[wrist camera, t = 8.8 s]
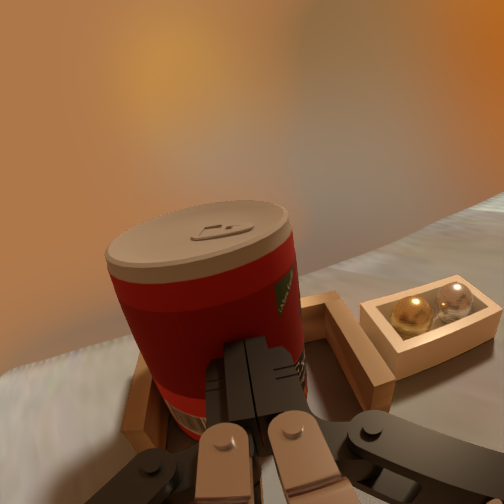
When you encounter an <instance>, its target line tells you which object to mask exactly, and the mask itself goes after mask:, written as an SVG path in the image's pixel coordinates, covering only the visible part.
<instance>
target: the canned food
mask: <svg viewBox="0 0 504 504" xmlns="http://www.w3.org/2000/svg"><path fill="white" fill-rule="evenodd" d="M105 258H106V261H107V267H108V268H107V269H108V271H109V274H110V277H111V280H112V283H113V285H114V289H115V292H116V295H117V297H118V300H119V303H120V305H121V308H122V310H123V313H124V315H125V317H126V320H127V322H128V324H129V327H130V329H131V332H132V334H133V336H134V339H135V341H136V343H137V345H138V347H139V350H140V352H141V354H142V356H143V358H144V360H145V363H146V365H147V367H148V369H149V371H150V373H151V375H152V377H153V379H154V381H155V383H156V385H157V387H158V389H159V391H160V393H161V395H162V397H163V399H164V401H165V402H166V404H167V406H168V408H169V410H170V412H171V414H172V415H173V417H174V419H175V421H176V422H177V424H178V425H179V427H180V428H181V429H182V430H183V431H184V432H185V433H186V434H187V435H189V436H190V437H192V438H193V439H194V440H196V441H198V442H199V441H200V438H201V436H202V434H203V433H204V432H205V430H206V368H207V366H208V364H209V363H210V361H211V359H216V358H222V357H224V350H223V343H226V342H232V341H237V340H244V344H245V339H247V338H253V337H258V336H263V335H265V339H266V343H267V347H268V349H270V348H275V347H279V346H283V347H284V348H285V349H286V350H287V351H288V352H289V353H290V354H291V356H292V359H293V362H294V365H295V368H296V371H297V374H298V377H299V380H300V383H301V386H302V389H303V392H304V395H305V398H306V401H307V393H308V387H307V373H306V359H305V347H304V335H303V323H302V312H301V301H300V291H299V281H298V272H297V262H296V253H295V248H294V241H293V233H292V227H291V224H290V222H289V215H288V212H287V210H286V209H284V208H283V207H281V206H279V205H276V204H273V203H269V202H263V201H252V200H250V201H249V200H248V201H247V200H243V201H241V200H240V201H225V202H217V203H210V204H205V205H199V206H194V207H189V208H185V209H181V210H178V211H174V212H170V213H167V214H164V215H161V216H158V217H156V218H153V219H150V220H148V221H145V222H143V223H141V224H139V225H136V226H134V227H132V228H131V229H129V230H127V231H125V232H124V233H123V234H121V235H119V236H118V237H117V238H116V239H115V240H114V241H113V242H111V243H110V244H109V246H108V247H107V249H106V251H105ZM245 349H246V344H245ZM246 353H247V351H246ZM247 358H248V357H247ZM262 437H263V436H262ZM263 443H264V439H263ZM264 446H265V443H264Z"/></svg>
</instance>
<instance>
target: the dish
mask: <svg viewBox="0 0 504 504" xmlns="http://www.w3.org/2000/svg"><path fill="white" fill-rule="evenodd" d="M452 282H459V283H462V284H464V285H465V286H467V287H468V288H469V290H470V291H471V293H472V295H473V300H474V305H473V310H472V312H471V314H470V315H469V316H467V317H465V318H462V319H460V320H457V321H455V322H453V323H450V324H446V323H444V322H442V321H441V320H440V319H439V317H438V316H437V314H436V311H435V298H436V296H437V293H438V292H439V290H440V289H441V288H442V287H443V286H445V285H446V284H448V283H452ZM407 296H418V297H421V298H423V299H424V300H426V301H427V302H428V303H429V305H430V306H431V308H432V311H433V324H432V327H431V329H430V331H429V332H427V333H424V334H421V335H419V336H416V337H413V338H410V339H407V340H405V341H403V340H402V338H401V337H400V336H399V335H398V333H397V332H396V331H395V330H394V329H393V327H392V326H391V325H390V313H391V311H392V308H393V307H394V305H395V304H396V303H397V302H398V301H399V300H400V299H402V298H404V297H407ZM502 310H503V309H502V308H501V307H499V306H498V305H497V304H496V303H494V302H493V301H492V300H491V299H489V298H488V297H487V296H485V295H484V294H483V293H481V292H480V291H479V290H478V289H476V288H475V287H474V286H472V285H471V284H470V283H468V282H467V281H466V280H464V279H463V278H461V277H460V276H459V275H455V276H452V277H449V278H446V279H443V280H439V281H436V282H433V283H430V284H427V285H423V286H420V287H417V288H413V289H410V290H406V291H403V292H400V293H396V294H392V295H389V296H385V297H382V298H378V299H374V300H371V301H367V302H363V303H360V323H359V325H360V326H361V327H362V329H363V330H364V332H365V333H366V335H367V336H368V338H369V339H370V340H371V342H372V343H373V345H374V346H375V348H376V349H377V351H378V352H379V354H380V355H381V357H382V358H383V360H384V361H385V363H386V364H387V366H388V367H389V369H390V370H391V372H392V373H393V375H394V376H395V378H396V381H397V380H400V379H403V378H405V377H408V376H411V375H413V374H416V373H418V372H421V371H423V370H426V369H428V368H430V367H433V366H435V365H437V364H440V363H442V362H444V361H447V360H449V359H451V358H453V357H455V356H457V355H460V354H462V353H464V352H466V351H468V350H470V349H472V348H474V347H476V346H478V345H480V344H482V343H484V342H486V341H488V340H490V339H492V338H493V337H495V334H496V331H497V327H498V324H499V321H500V317H501V314H502Z"/></svg>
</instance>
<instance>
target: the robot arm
mask: <svg viewBox="0 0 504 504" xmlns="http://www.w3.org/2000/svg"><path fill="white" fill-rule="evenodd" d="M245 344H246V349H245ZM245 344H244V340H237V341H232V342H226V343H223V350H224V357H222V358H216V359H211V361H210V363H209V364H208V366H207V368H206V430H205V432H204V433H203V434H202V436H201V438H200V441H199V442H197V443H196V444H195V445H193V446H192V447H190V448H187V449H185V450H182V451H179V452H176V453H174V454H171V453H169V452H168V451H166V450H164V449H160V448H150V449H146V450H144V451H142V452H140V453H139V454H138V455H136V456H135V457H134V458H133V459H132V460H131V461H130V462H129V463H128V464H127V465H126V466H125V467H124V468H123V469H122V470H121V471H120V472H119V473H117V474H116V475H115V476H114V477H113V478H112V479H111V480H110V481H109V482H108V483H107V484H106V485H105V486H103V487H102V488H101V489H100V490H99V491H98V492H97V493H96V494H95V495H93V496H92V497H91V498H90V499H89V500H88V501H87V502H86V503H84V504H264V502H263V488H262V477H261V473H262V472H261V465H260V459H259V457H264V456H266V454H265V448H264V443H265V447H266V451H267V454H268V456H269V455H273V457H274V461H275V465H276V469H277V473H278V477H279V480H280V483H281V486H282V489H283V493H284V496H285V499H286V502H287V504H361V503H360V501H359V499H358V497H357V495H356V493H355V490H354V488H353V487H355V488H357V489H359V490H361V491H363V492H366V493H368V494H370V495H372V496H374V497H376V498H378V499H380V500H383V501H385V502H387V503H389V504H504V453H501V452H497V451H494V450H491V449H487V448H484V447H481V446H477V445H474V444H471V443H468V442H465V441H462V440H459V439H456V438H453V437H450V436H447V435H444V434H441V433H439V432H436V431H433V430H430V429H428V428H425V427H422V426H420V425H417V424H414V423H412V422H409V421H406V420H404V419H401V418H399V417H396V416H394V415H391V414H389V413H387V412H384V411H381V410H367V411H364V412H361V413H359V414H357V415H356V416H355V417H354V418H353V419H352V420H351V422H330V421H325V420H322V419H320V418H318V417H317V416H315V415H314V414H313V413H312V412H311V410H310V409H309V407H308V404H307V401H306V398H305V395H304V392H303V389H302V386H301V383H300V380H299V377H298V374H297V371H296V368H295V365H294V362H293V359H292V356H291V354H290V353H289V352H288V351H287V350H286V349H285V348H284V347H283V346H279V347H275V348H270V349H268V347H267V343H266V339H265V335H263V336H258V337H253V338H247V339H245ZM246 351H247V353H246ZM247 357H248V358H247ZM262 436H263V437H262ZM263 439H264V443H263Z"/></svg>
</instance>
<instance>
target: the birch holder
mask: <svg viewBox="0 0 504 504" xmlns="http://www.w3.org/2000/svg"><path fill="white" fill-rule="evenodd" d="M300 301H301V312H302V323H303V335H304V343H307V342H311V341H315V340H319V339H323V338H326V339H327V341H328V343H329V344H330V346H331V348H332V350H333V352H334V354H335V356H336V358H337V360H338V362H339V364H340V366H341V368H342V370H343V372H344V374H345V376H346V378H347V380H348V382H349V384H350V386H351V388H352V390H353V392H354V394H355V396H356V398H357V400H358V402H359V404H360V406H361V408H362V410H363V412H364V411H367V410H381V411H384V412H387V413H389V410H390V406H391V402H392V397H393V393H394V388H395V383H396V378H395V376H394V375H393V373H392V372H391V370H390V369H389V367H388V366H387V364H386V363H385V361H384V360H383V358H382V357H381V355H380V354H379V352H378V351H377V349H376V348H375V346H374V345H373V343H372V342H371V340H370V339H369V338H368V336H367V335H366V333H365V332H364V330H363V329H362V327H361V326H360V325H359V323H358V322H357V320H356V319H355V317H354V316H353V315H352V313H351V312H350V310H349V309H348V307H347V306H346V305H345V303H344V302H343V300H342V299H341V298H340V296H339V295H338V293H337V292H336V291H331V292H326V293H322V294H317V295H313V296H308V297H304V298H300ZM168 417H169V408H168V406H167V404H166V402H165V401H164V399H163V397H162V395H161V393H160V391H159V389H158V387H157V385H156V383H155V381H154V379H153V377H152V375H151V373H150V371H149V369H148V367H147V365H146V363H145V360H144V358H143V356H142V354H141V352H140V354H139V358H138V361H137V365H136V369H135V373H134V377H133V381H132V385H131V389H130V393H129V398H128V402H127V406H126V411H125V415H124V420H123V424H122V429H121V431H122V432H123V434H124V435H125V436H126V438H127V439H128V440H129V442H130V443H131V444H132V446H133V447H134V448H135V449H136V451H137V452H138V453H140V452H142V451H144V450H146V449H150V448H160V449H164V450H166V440H167V428H168Z"/></svg>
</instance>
